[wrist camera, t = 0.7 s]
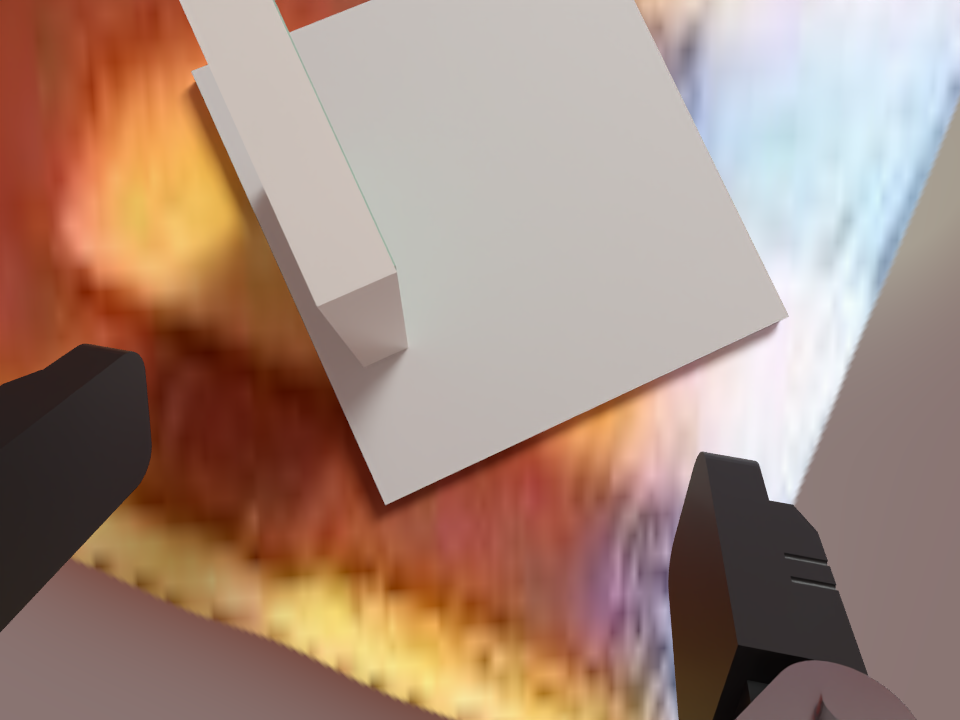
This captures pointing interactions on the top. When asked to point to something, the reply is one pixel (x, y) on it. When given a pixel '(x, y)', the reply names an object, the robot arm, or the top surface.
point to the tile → (303, 172)
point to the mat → (514, 221)
